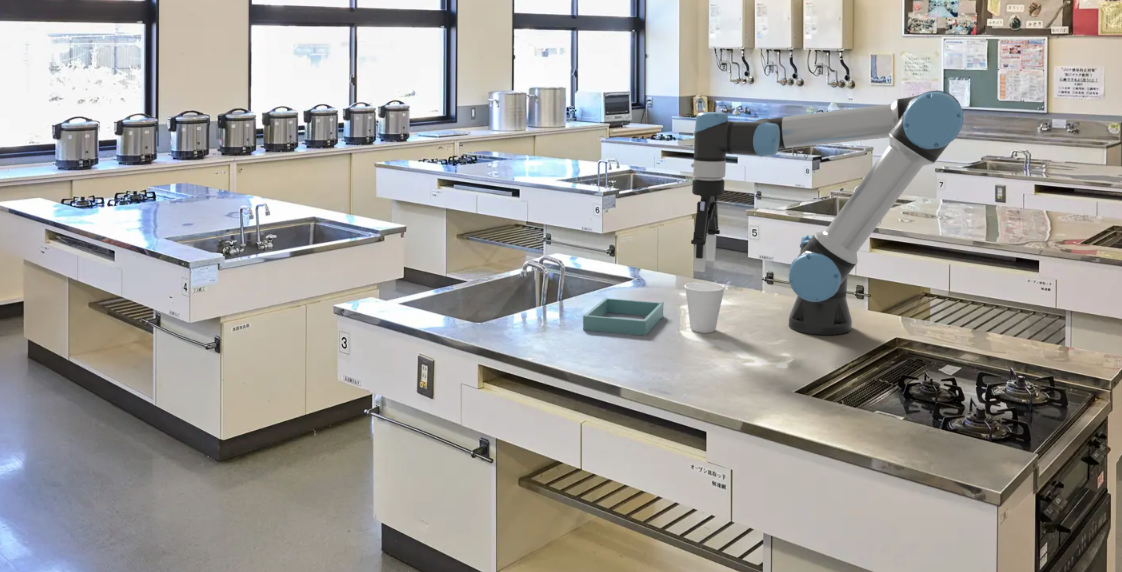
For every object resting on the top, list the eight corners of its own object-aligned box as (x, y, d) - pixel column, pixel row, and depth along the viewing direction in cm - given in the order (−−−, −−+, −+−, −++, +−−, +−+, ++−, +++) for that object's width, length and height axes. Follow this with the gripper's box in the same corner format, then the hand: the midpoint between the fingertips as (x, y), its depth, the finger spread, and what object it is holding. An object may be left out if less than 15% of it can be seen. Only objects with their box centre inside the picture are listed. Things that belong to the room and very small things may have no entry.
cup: (722, 336, 238) (724, 291, 236) (681, 334, 240) (682, 289, 238) (724, 325, 248) (726, 282, 245) (684, 323, 250) (685, 280, 247)
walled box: (663, 316, 257) (663, 302, 256) (645, 335, 239) (645, 321, 238) (605, 311, 261) (605, 298, 261) (583, 329, 243) (583, 315, 243)
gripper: (702, 171, 248) (698, 255, 253) (682, 183, 225) (678, 274, 230) (732, 173, 246) (728, 257, 251) (715, 185, 223) (710, 277, 228)
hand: (704, 265), depth 240 cm, fingers open, 13 cm apart
